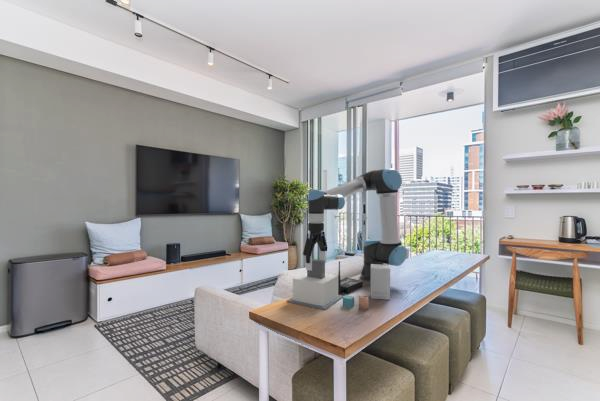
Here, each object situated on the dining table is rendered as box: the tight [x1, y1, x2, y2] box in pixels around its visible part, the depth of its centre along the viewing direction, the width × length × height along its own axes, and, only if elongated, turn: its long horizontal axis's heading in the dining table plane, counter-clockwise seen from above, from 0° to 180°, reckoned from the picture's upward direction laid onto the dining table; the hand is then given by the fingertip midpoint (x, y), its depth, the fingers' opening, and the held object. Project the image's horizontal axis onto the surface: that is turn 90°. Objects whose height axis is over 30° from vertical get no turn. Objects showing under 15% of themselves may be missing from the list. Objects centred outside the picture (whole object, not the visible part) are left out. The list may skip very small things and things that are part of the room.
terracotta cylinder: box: [358, 295, 369, 312], centre depth 127 cm, size 4×4×5 cm
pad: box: [286, 294, 345, 311], centre depth 139 cm, size 20×20×1 cm
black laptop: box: [338, 261, 364, 295], centre depth 155 cm, size 20×14×17 cm
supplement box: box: [370, 264, 391, 301], centre depth 144 cm, size 9×9×15 cm
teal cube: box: [342, 294, 355, 309], centre depth 131 cm, size 4×4×4 cm
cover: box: [292, 258, 338, 306], centre depth 139 cm, size 16×16×18 cm
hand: (315, 267), depth 139 cm, fingers open, 13 cm apart
